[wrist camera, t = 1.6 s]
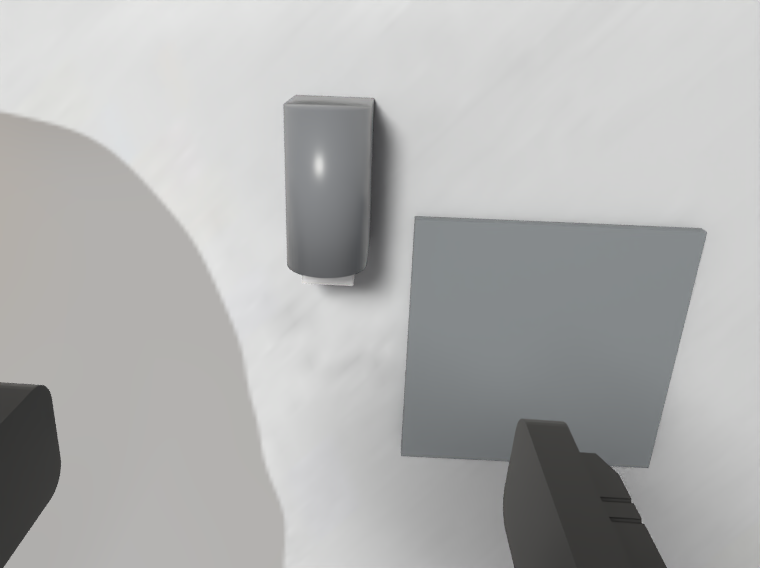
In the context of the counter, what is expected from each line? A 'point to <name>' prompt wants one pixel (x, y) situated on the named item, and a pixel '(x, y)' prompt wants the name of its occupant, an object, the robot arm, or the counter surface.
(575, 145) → the counter surface
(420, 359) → the slate mat
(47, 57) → the counter surface
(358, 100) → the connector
